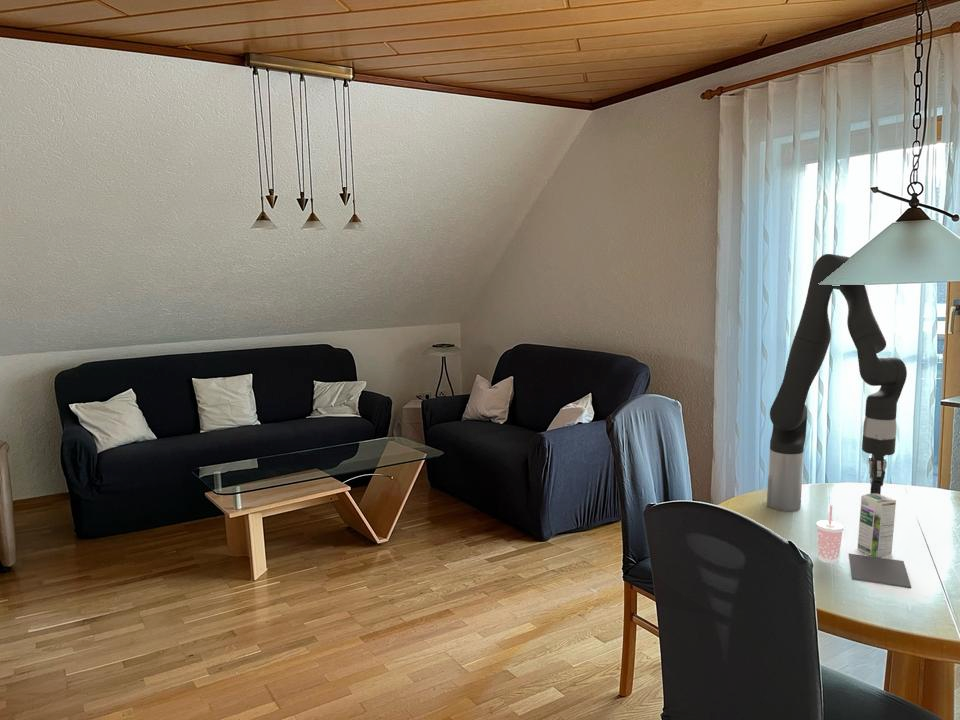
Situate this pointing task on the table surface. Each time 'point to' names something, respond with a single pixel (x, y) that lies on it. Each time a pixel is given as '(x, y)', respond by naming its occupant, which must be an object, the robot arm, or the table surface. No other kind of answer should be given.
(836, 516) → the table surface
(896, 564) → the mat
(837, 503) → the table surface
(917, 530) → the table surface
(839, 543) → the beverage cup
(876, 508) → the syrup box
